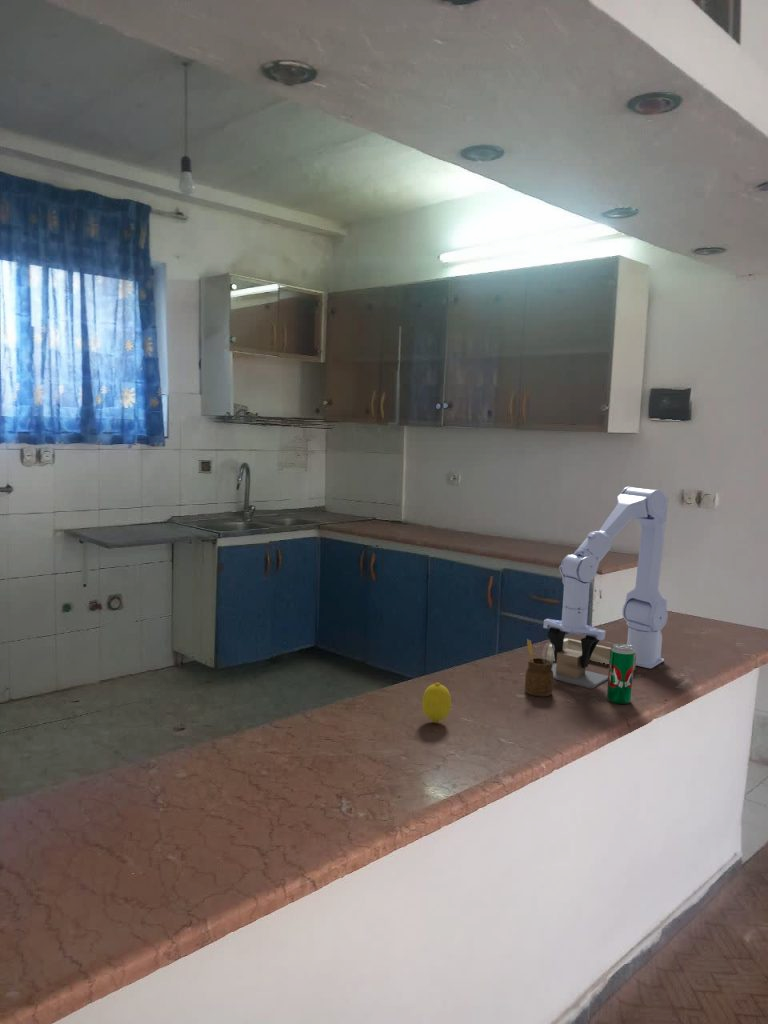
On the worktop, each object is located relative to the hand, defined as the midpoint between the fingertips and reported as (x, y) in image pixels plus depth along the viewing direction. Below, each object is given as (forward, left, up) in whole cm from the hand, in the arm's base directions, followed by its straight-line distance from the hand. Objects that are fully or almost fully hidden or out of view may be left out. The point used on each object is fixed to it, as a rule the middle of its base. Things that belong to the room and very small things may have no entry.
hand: (571, 663), depth 181 cm
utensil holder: (+16, 0, -3) cm, 16 cm away
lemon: (+46, -6, -3) cm, 46 cm away
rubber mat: (0, 0, -3) cm, 3 cm away
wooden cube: (0, 0, -2) cm, 2 cm away
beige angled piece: (-10, 0, -3) cm, 11 cm away
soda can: (+8, +15, -3) cm, 17 cm away
